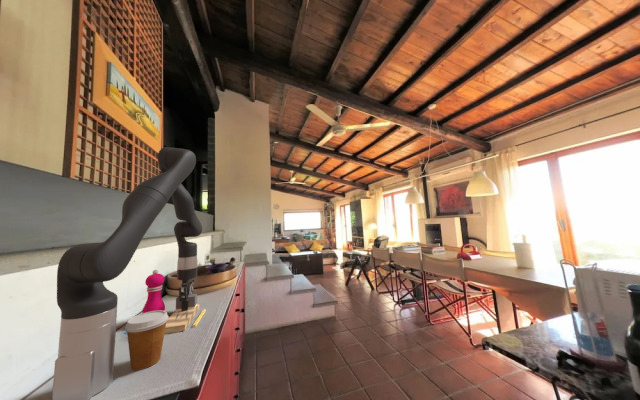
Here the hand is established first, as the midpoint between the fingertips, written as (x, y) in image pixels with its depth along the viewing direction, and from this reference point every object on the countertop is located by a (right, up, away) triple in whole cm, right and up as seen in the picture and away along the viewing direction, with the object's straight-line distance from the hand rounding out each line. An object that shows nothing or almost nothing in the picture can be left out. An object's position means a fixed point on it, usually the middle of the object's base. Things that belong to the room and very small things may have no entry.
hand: (186, 307), depth 93 cm
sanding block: (0, 0, 0) cm, 0 cm away
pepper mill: (-8, -2, -8) cm, 11 cm away
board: (+2, -1, -7) cm, 7 cm away
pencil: (+9, -1, -7) cm, 11 cm away
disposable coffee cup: (+10, +1, -34) cm, 35 cm away
